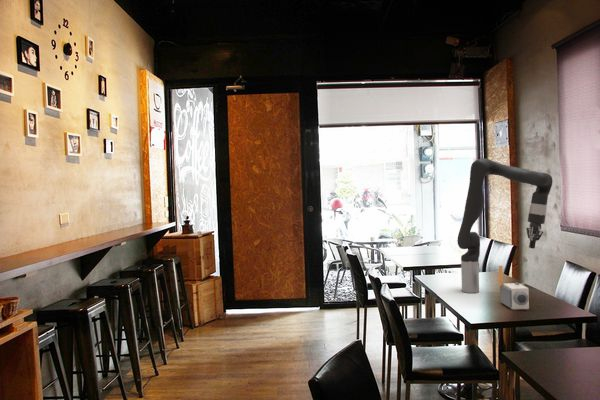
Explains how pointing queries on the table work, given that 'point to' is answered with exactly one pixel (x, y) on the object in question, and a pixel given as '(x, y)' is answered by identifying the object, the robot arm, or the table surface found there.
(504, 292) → the side door
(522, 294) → the camera body
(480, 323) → the table surface
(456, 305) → the table surface
